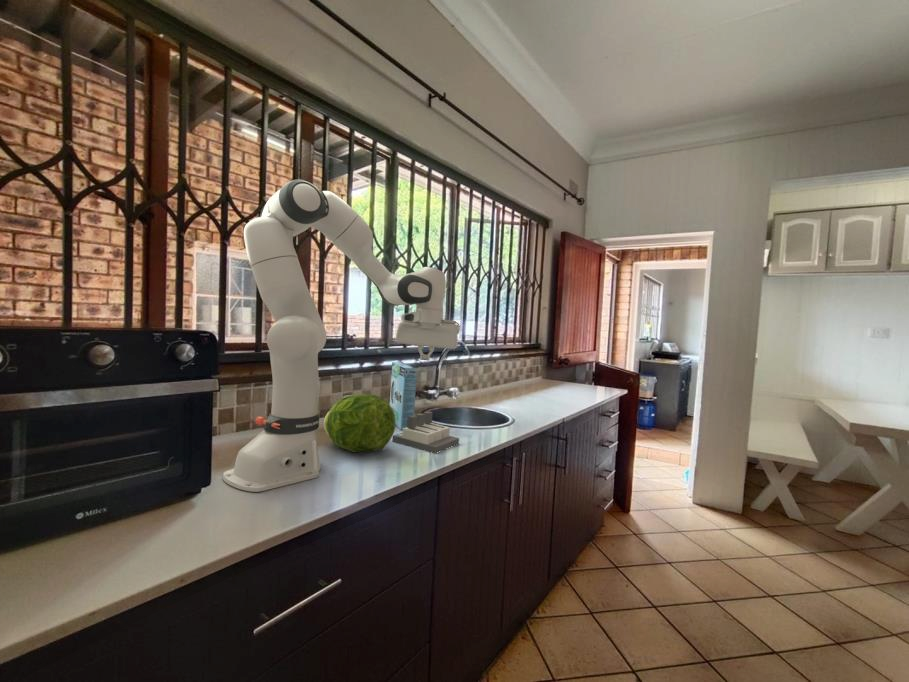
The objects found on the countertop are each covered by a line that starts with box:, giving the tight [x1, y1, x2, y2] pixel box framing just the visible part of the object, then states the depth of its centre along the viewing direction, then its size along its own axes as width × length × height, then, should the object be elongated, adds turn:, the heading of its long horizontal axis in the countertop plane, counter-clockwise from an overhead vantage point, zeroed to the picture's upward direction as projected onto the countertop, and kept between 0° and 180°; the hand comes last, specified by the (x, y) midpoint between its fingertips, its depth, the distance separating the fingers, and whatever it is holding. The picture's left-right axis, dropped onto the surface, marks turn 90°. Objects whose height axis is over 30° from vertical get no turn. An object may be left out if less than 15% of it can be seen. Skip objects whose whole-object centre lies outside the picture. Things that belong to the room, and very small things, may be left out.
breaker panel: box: [391, 422, 460, 454], centre depth 134 cm, size 14×17×5 cm
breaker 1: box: [407, 415, 417, 429], centre depth 131 cm, size 2×2×4 cm
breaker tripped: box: [415, 413, 425, 426], centre depth 135 cm, size 2×2×4 cm
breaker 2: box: [423, 411, 434, 424], centre depth 139 cm, size 2×2×4 cm
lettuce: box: [323, 393, 396, 454], centre depth 122 cm, size 17×23×17 cm
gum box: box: [389, 361, 418, 431], centre depth 156 cm, size 20×5×23 cm, turn 22°
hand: (424, 360), depth 132 cm, fingers closed
